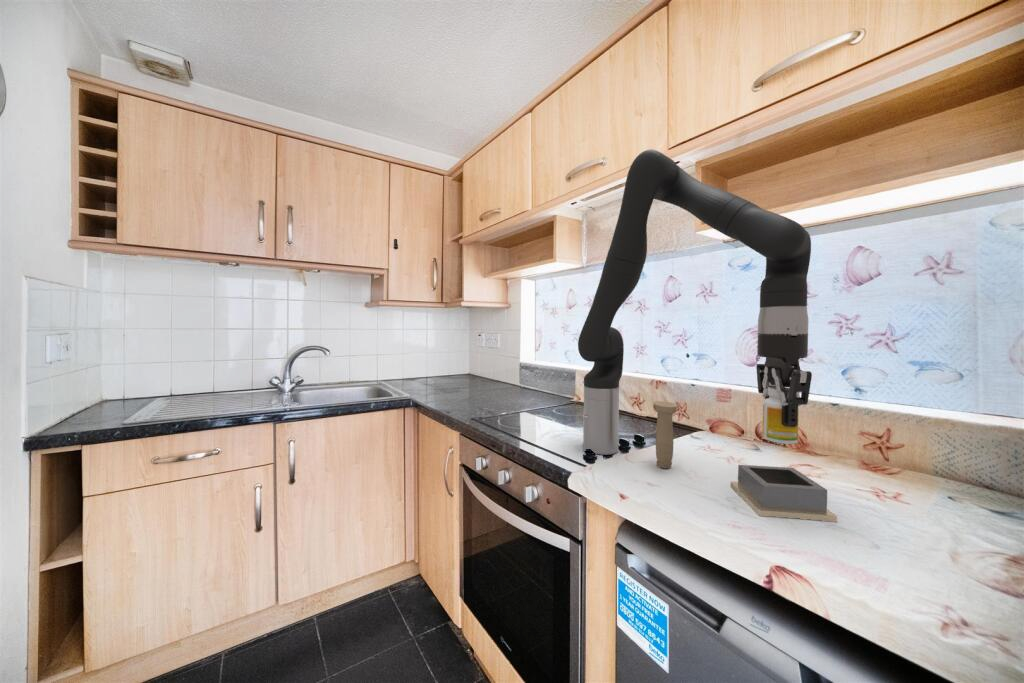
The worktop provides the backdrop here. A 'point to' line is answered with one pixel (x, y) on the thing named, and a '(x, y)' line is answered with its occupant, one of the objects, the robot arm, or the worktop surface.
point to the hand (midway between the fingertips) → (780, 421)
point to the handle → (664, 433)
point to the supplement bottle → (776, 420)
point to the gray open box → (782, 493)
